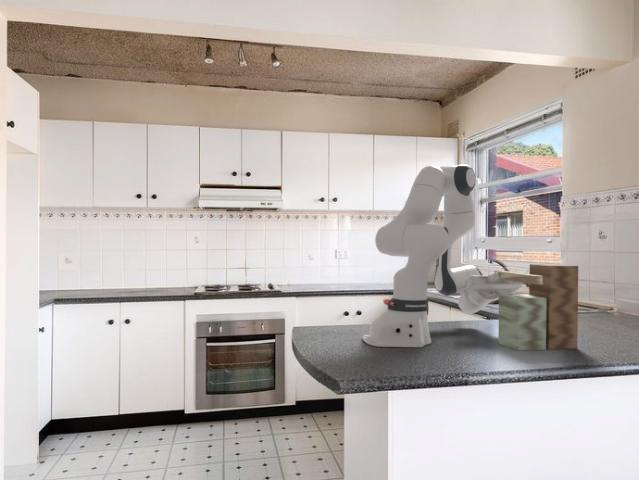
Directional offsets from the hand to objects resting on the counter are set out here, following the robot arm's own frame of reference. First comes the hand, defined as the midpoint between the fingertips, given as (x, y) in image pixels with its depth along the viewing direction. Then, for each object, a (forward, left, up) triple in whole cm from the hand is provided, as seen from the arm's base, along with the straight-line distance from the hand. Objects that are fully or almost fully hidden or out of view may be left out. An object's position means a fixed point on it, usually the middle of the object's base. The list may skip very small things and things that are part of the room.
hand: (504, 273), depth 155 cm
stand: (+5, -10, -22) cm, 25 cm away
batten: (0, -7, -2) cm, 7 cm away
